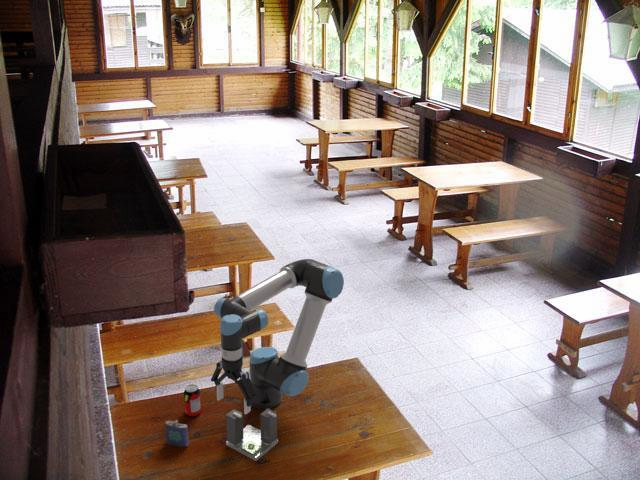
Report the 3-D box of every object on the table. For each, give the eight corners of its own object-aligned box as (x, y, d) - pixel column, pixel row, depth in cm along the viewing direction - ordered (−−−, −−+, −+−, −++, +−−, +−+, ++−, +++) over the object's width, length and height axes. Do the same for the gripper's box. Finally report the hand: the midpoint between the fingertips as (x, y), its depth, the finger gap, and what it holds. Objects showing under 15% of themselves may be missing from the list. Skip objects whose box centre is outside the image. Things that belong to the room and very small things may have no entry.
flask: (190, 443, 245) (188, 420, 241) (186, 448, 242) (184, 425, 238) (168, 439, 247) (166, 416, 243) (164, 443, 244) (162, 420, 240)
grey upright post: (227, 440, 243) (225, 413, 239) (235, 434, 247) (233, 407, 242) (238, 446, 240) (237, 418, 236) (245, 440, 244) (245, 413, 239)
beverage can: (199, 406, 266) (198, 382, 261) (202, 415, 260) (200, 391, 256) (184, 409, 264) (182, 385, 260) (186, 418, 258) (184, 393, 254)
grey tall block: (260, 440, 244) (260, 412, 240) (268, 434, 248) (267, 406, 243) (272, 446, 241) (271, 418, 237) (279, 439, 245) (279, 412, 240)
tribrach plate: (225, 445, 244) (224, 438, 243) (248, 426, 254) (248, 420, 253) (256, 462, 236) (255, 455, 235) (279, 442, 246) (279, 435, 245)
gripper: (199, 349, 234) (202, 398, 242) (251, 372, 221) (252, 423, 228) (214, 341, 240) (216, 388, 247) (265, 363, 226) (266, 412, 234)
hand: (233, 405), depth 238 cm, fingers open, 13 cm apart
